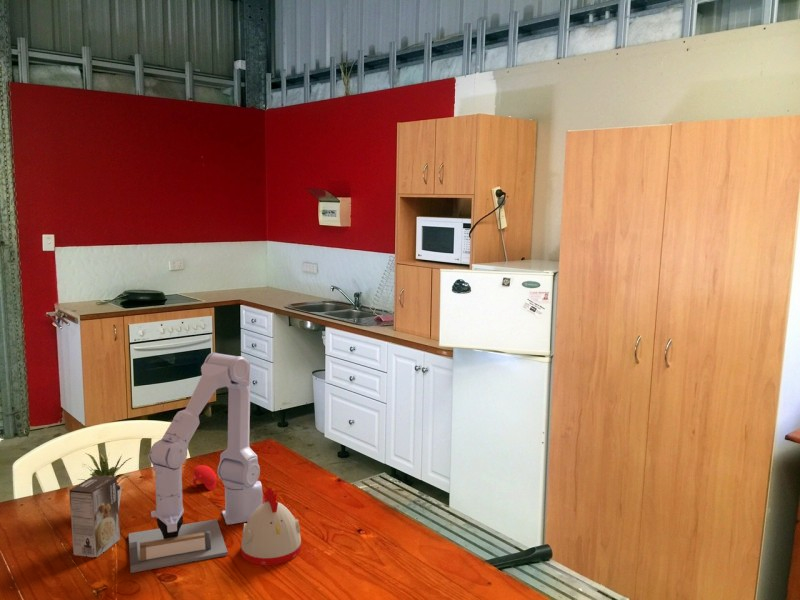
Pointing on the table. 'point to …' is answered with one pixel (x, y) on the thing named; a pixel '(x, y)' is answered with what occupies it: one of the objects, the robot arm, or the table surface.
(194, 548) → the tan wooden bar
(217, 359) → the robot arm
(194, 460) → the table surface
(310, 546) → the table surface
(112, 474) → the house plant
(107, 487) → the coffee box
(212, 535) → the frame
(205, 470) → the cap
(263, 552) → the kitchen timer
